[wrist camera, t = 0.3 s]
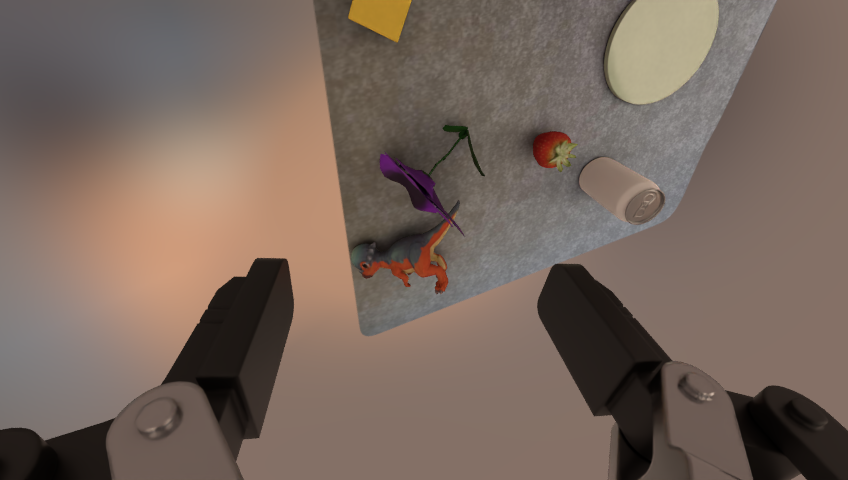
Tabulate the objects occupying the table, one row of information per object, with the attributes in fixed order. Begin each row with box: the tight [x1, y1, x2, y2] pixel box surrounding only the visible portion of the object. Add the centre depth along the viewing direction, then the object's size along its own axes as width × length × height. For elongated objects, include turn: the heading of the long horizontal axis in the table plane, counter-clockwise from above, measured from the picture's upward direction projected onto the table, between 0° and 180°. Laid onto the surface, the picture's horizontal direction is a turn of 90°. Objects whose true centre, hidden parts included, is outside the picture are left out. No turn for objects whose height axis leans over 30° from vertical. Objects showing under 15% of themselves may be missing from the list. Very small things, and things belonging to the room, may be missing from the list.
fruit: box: [533, 131, 578, 172], centre depth 47 cm, size 5×5×8 cm
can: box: [579, 157, 665, 225], centre depth 50 cm, size 6×6×12 cm
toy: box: [351, 200, 460, 294], centre depth 54 cm, size 19×11×15 cm
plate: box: [604, 0, 719, 104], centre depth 44 cm, size 15×15×1 cm
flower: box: [380, 125, 485, 237], centre depth 45 cm, size 15×15×14 cm
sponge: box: [348, 0, 412, 42], centre depth 34 cm, size 4×5×10 cm
